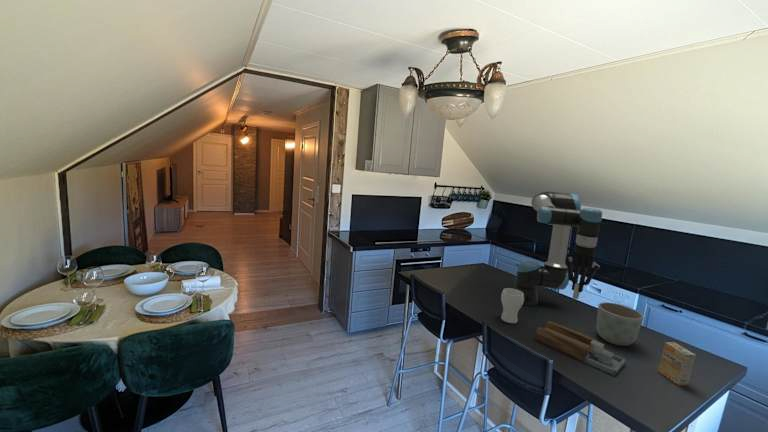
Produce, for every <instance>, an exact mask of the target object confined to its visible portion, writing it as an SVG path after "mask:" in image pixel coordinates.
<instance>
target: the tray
mask: <svg viewBox="0 0 768 432" xmlns="http://www.w3.org/2000/svg"><path fill="white" fill-rule="evenodd" d="M598 357H599V356H597V355H595V354H593V353H591V352H590V353H589V354H588V355H587V356H585V358H584V362H583V363H585V364H587V365H589V366H592V367H594V368H595V369H597V368H598V369H597V370H600V371H602V372H604V373H606V372H607V373H606V374H608V373H609V375H610V374H611V376H613V377H616V376H617V375H618V373H619V372H620V371H621V370H622V369H623V367H624V366H625V365H626V361H627V359H626V358H624V357H622V356H619V355H616V354H614V357H613V361H612V363H611V364H610V365H609V366H608V365H606V364H604V363H602V362H600V361H598ZM624 364H625V365H624ZM620 369H621V370H620ZM615 375H616V376H615Z"/></svg>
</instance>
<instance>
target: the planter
mask: <svg viewBox="0 0 768 432" xmlns="http://www.w3.org/2000/svg"><path fill="white" fill-rule="evenodd" d="M596 315H597V317H596V325H595V326H596V330H597V333H598V335H599V336H600V337H601V338H602V339H603V340H604V341H606V342H608V343H610V344H612V345H616V346H619V347H620V346H621V347H626V346H627V347H628V346H630V345H632V344H633V343H634V342H635V341H636V340H637V338H638V336H639V333H640V329H641V326H642V323H643V320H644V315H643V314H642V313H641V312H640V311H638V310H637V309H634V308H631V307H629V306H626V305H623V304H620V303H614V302H606V301H605V302H604V301H603V302H600V303H599V304H598V306H597V314H596Z"/></svg>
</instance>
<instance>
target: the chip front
mask: <svg viewBox="0 0 768 432" xmlns="http://www.w3.org/2000/svg"><path fill="white" fill-rule="evenodd" d="M614 355H615V353H614V352H611V351H610V350H607V349H605V348H603V349H602V350H601V351H600V354H599V357H598V361H600V362H602V363H604V364H606V365H608V366H609V365H610V364H611V363H612V361H613V357H614Z"/></svg>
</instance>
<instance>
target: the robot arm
mask: <svg viewBox="0 0 768 432" xmlns="http://www.w3.org/2000/svg"><path fill="white" fill-rule="evenodd" d="M580 198H581V197H580V196H579V195H578V194H576V193H569V192H567V193H566V192H558V191H557V192H556V191H542V192H539V193H537V194H535V195H534V196H533V198H532V199H531V207H532V208H533V210H535V211H536V212H537V213H536V221H537V222H538V223H543V224H545V225H546V224H548V225H549V224H551V225H552V232H551V237H550V245H549V252H548V257H547V261H545V262H544V265H541V263H540V262H538V261H533V260H523V261H520V262H519V263H518V264H517V265H518V266H517V268H516V275H515V284H514V286H513V288H512V289H517V290H519V291H521V292H523V294H524V302H523V305H522V306H527V307H528V306H529V307H533V306H534V307H535V306H537V305H538V303H539V298H538V294H537V293H538V292H537V289H538V287H542V288H549V289H554V290H562V291H563V290H565V289H566V288H567V287H568V285H569V282H570V281H571V283H572V285H571V290H572V291H573V293H572V299H573V300H578V299H579V297H580V293H582V292H583V289H584V286H587V285H590V283H591V281H592V280H593V277H594V275H595V273H596V272H597V270H598V269H599V268H601V265H600V264H598V263H596V260H595V254H596V247H597V243H598V240H599V234H600V229H601V225H602V220H603V211H602V210H601V209H596V208H592V207H591V208H590V207H589V208H588V207H587V208H586V207H584V208H582V203H581V199H580ZM571 227H575V228H577V232H576V238H575V244H574V247H573V253H572V255H571V256H568V257H567V252H568V245H569V239H570V234H571ZM573 263H574V264H575V265H574V267H573ZM566 264H567V265H566ZM590 266H591V268H590V271H589V273H588V275H587V271H588V269H589V267H590ZM580 271H581V273H580ZM579 276H580V278H579ZM586 276H587V277H586Z"/></svg>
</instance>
